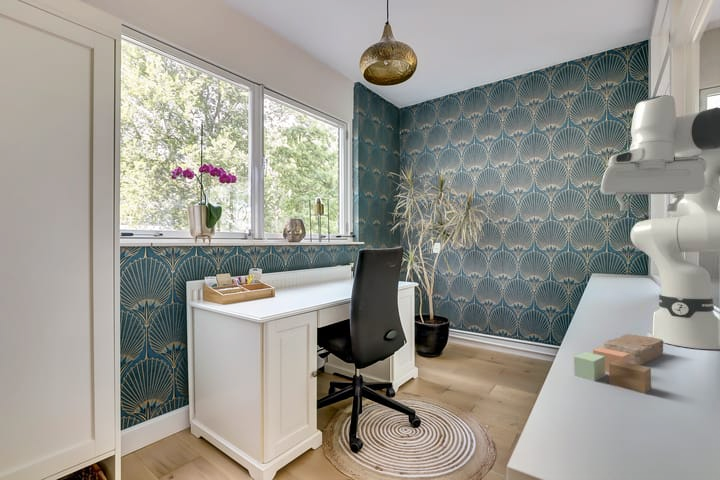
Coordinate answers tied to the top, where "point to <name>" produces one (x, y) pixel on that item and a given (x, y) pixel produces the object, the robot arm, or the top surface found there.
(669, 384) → the top surface
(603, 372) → the sage block
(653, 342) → the brick
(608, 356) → the terracotta block
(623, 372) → the walnut block
